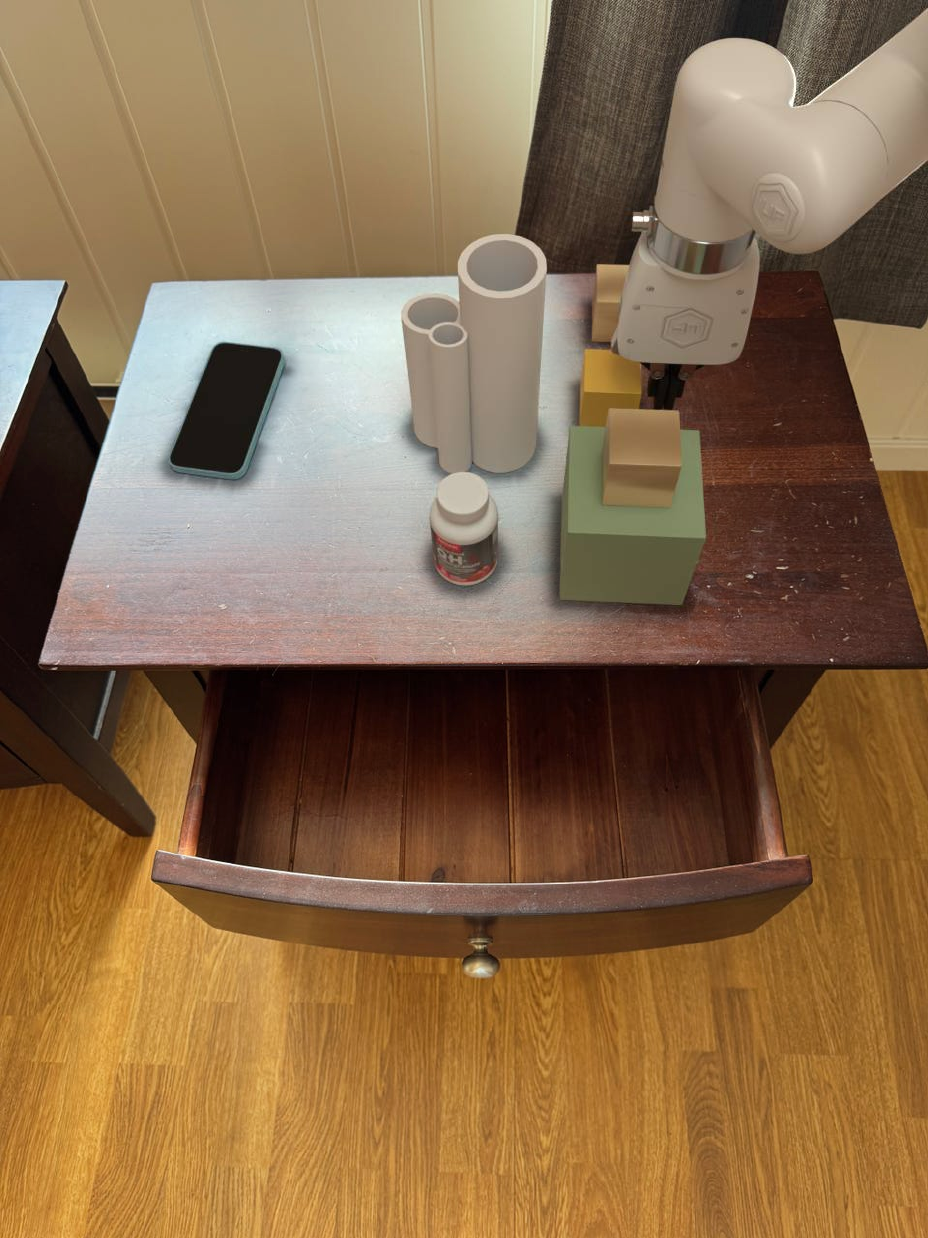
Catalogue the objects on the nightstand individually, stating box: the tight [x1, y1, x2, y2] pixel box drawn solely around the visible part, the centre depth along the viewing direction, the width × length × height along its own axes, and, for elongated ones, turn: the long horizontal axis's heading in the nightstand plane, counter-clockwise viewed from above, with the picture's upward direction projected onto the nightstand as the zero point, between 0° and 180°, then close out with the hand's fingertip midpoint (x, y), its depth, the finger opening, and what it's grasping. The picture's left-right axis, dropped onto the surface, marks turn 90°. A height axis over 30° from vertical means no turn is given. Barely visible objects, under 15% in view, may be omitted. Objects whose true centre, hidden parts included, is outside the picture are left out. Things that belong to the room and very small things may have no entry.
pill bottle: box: [429, 471, 499, 586], centre depth 75 cm, size 5×5×10 cm
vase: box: [400, 233, 548, 474], centre depth 76 cm, size 11×7×20 cm, turn 83°
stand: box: [558, 425, 707, 606], centre depth 75 cm, size 10×10×10 cm
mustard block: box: [578, 348, 643, 427], centre depth 84 cm, size 5×5×5 cm
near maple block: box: [602, 408, 682, 508], centre depth 68 cm, size 5×5×5 cm
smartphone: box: [168, 341, 286, 480], centre depth 87 cm, size 7×1×15 cm
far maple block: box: [591, 263, 629, 343], centre depth 89 cm, size 5×5×5 cm
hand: (662, 398), depth 85 cm, fingers closed
